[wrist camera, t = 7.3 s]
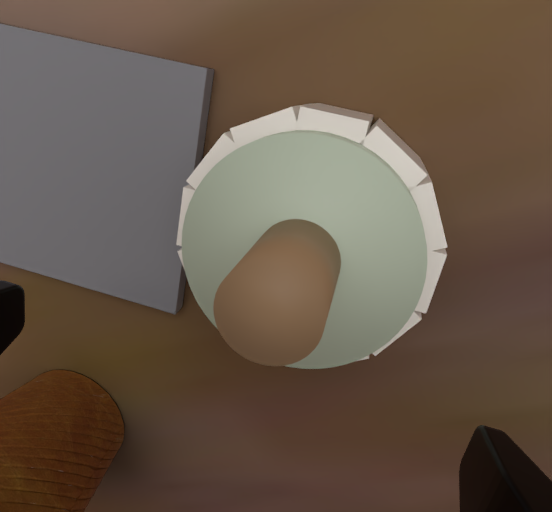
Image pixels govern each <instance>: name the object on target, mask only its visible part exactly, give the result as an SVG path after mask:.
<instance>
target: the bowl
mask: <svg viewBox="0 0 552 512" xmlns="http://www.w3.org/2000/svg"><path fill="white" fill-rule="evenodd" d="M372 119H373V115H372V114H367V113H363V112H358V111H353V110H349V109H344V108H340V107H335V106H331V105H326V104H322V103H314V104H312V103H310V104H304V105H299V106H293V107H290V108H287V109H284V110H281V111H278V112H276V113H273V114H270V115H267V116H264V117H261V118H258V119H256V120H253V121H250V122H247V123H244V124H241V125H239V126H236V127H233V128H230V131H229V132H225V133H223V134H222V136H221V137H220V138H219V140H218V141H217V142H216V143H215V145H214V146H213V147H212V148H211V150H210V151H209V152H208V153H207V155H206V156H205V157H204V159H203V160H202V161H201V162H200V164H199V165H198V166H197V167H196V169H195V170H194V171H193V173H192V174H191V175H190V176H189V178H188V179H187V180H186V181H187V182H188V183H189V185H187V186H185V187H183V194H182V202H181V210H180V218H179V226H178V234H177V243H176V245H179V246H182V230H183V224H184V219H185V215H186V212H187V209H188V206H189V203H190V201H191V199H192V196H193V194H194V192H195V190H196V189H197V187H198V186H199V184H200V183H201V181H202V180H203V178H204V177H205V176H206V175H207V173H208V172H209V171H210V170H211V169H212V168H213V167H214V166H215V165H216V164H217V163H218V162H219V161H221V160H222V159H223V158H224V157H225V156H227V155H228V154H230V153H231V152H233V151H235V150H236V149H238V148H240V147H241V146H244V145H246V144H248V143H251V142H253V141H255V140H258V139H260V138H263V137H266V136H269V135H273V134H277V133H280V132H287V131H295V130H314V131H321V132H328V133H332V134H336V135H339V136H343V137H346V138H348V139H350V140H353V141H355V142H357V143H359V144H362V145H363V146H365V147H366V148H368V149H370V150H371V151H373V152H374V153H376V154H377V155H378V156H380V157H381V158H382V159H383V160H384V161H386V162H387V163H388V164H389V165H390V166H391V167H392V168H393V169H394V170H395V172H396V173H397V174H398V175H399V176H400V177H401V179H402V180H403V182H404V183H405V185H406V186H407V187H408V189H409V191H410V193H411V195H412V197H413V199H414V201H415V203H416V205H417V208H418V211H419V214H420V217H421V220H422V224H423V228H424V233H425V239H426V244H427V271H426V279H425V283H424V287H423V291H422V294H421V297H420V299H419V301H418V304H417V306H416V308H415V310H414V312H413V313H412V315H411V317H410V318H409V320H408V321H407V323H406V324H405V325H404V326H403V328H402V329H401V330H400V331H399V333H398V334H396V335H395V336H394V337H393V338H392V339H391V340H390V341H389V342H388V343H387V344H385V345H384V346H382V347H381V348H380V349H378V350H377V351H375V352H374V353H372V354H374V355H375V356H376V355H377V354H379V353H380V352H381V351H382V350H384V349H385V348H386V347H387V346H389V345H390V344H391V343H392V342H394V341H395V340H396V339H398V338H399V337H400V336H401V335H403V334H404V333H405V332H406V331H408V330H409V329H410V328H411V327H413V326H414V325H415V324H416V323H418V322H419V321H420V320H422V317H421V312H422V313H426V312H427V309H428V307H429V304H430V301H431V298H432V296H433V293H434V290H435V287H436V284H437V282H438V279H439V276H440V273H441V270H442V268H443V265H444V262H445V259H446V256H447V253H446V250H445V248H447V243H446V239H445V235H444V231H443V226H442V222H441V218H440V214H439V210H438V206H437V201H436V197H435V193H434V189H433V185H432V181H431V179H430V177H429V175H428V172H427V170H426V168H425V166H424V163H422V161H421V158H420V157H419V156H418V155H417V154H416V153H415V152H414V151H413V150H412V149H411V148H410V147H409V146H408V145H407V144H406V143H405V142H404V141H403V140H402V139H400V138H399V137H398V136H397V135H396V134H395V133H394V132H393V131H392V130H391V129H390V128H389V127H388V126H387V125H386V124H385V123H384V122H383V121H382V120H381V119H380V118H379V119H378V120H377V121H376V122H375V123H374V124H373V125H372V126H371V123H372ZM370 127H371V128H370ZM177 252H178V255H179V257H180V260H181V262H182V265H183V267H184V264H183V258H182V248H181V249H180V250H178V251H177ZM184 270H185V269H184ZM365 359H369V355H368V356H366V357H364V358H362V359H360V360H365ZM357 361H359V360H357Z"/></svg>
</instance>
